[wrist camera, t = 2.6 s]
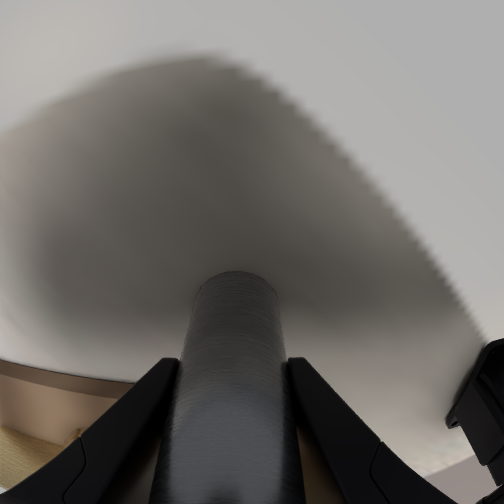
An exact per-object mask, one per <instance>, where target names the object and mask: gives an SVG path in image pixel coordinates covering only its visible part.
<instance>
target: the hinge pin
mask: <svg viewBox="0 0 504 504" xmlns="http://www.w3.org/2000/svg"><path fill="white" fill-rule="evenodd" d="M148 504H307V503H306V495H305V487H304V479H303V472H302V464H301V457H300V449H299V442H298V435H297V427H296V420H295V413H294V407H293V400H292V393H291V386H290V379H289V373H288V366H287V358H286V352H285V345H284V338H283V332H282V325H281V319H280V313H279V306H278V301H277V297H276V294H275V292H274V291H273V289H272V288H271V286H270V285H269V284H268V283H267V282H265V281H264V280H263V279H261V278H260V277H258V276H256V275H253V274H250V273H247V272H241V271H232V272H225V273H221V274H218V275H216V276H214V277H212V278H211V279H209V280H208V281H207V282H206V283H205V284H204V285H203V286H202V287H201V289H200V290H199V292H198V294H197V297H196V301H195V305H194V308H193V312H192V316H191V320H190V323H189V327H188V331H187V335H186V339H185V343H184V347H183V351H182V354H181V358H180V362H179V366H178V371H177V375H176V379H175V383H174V387H173V391H172V395H171V400H170V404H169V408H168V412H167V417H166V421H165V426H164V430H163V435H162V439H161V444H160V448H159V453H158V458H157V462H156V467H155V472H154V477H153V482H152V487H151V492H150V497H149V502H148Z"/></svg>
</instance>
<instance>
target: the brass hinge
mask: <svg viewBox="0 0 504 504" xmlns="http://www.w3.org/2000/svg"><path fill="white" fill-rule="evenodd" d="M85 430H86V428H82V429H79V428H77V429H76V430H75V431H74V432H73V433H72V434H71V435H69V436H68V437H67V438H66V440H65V442H64V444H63V446H61V445H58V444H55V443H51V442H48V441H45V440H42V439H39V438H36V437H33V436H30V435H27V434H25V433H22V432H19V431H17V430H14V429H11V428H9V427H6V426H4V425H1V427H0V487H2V488H4V489H6V490H9V489H11V488H12V487H13V486H15V485H16V484H18V483H19V482H21V481H22V480H24V479H25V478H27V477H28V476H30V475H31V474H32V473H34V472H35V471H37V470H38V469H40V468H41V467H42V466H44V465H45V464H46V463H48V462H49V461H50V460H52V459H53V458H54V457H56V456H57V455H58V454H59V453H60V452H61V451H63V450H64V449H65V448H66V447H67V446H68V445H70V444H71V443H72V442H73V441H74V440H75V439H76V438H77V437H81V436H80V435H81V434H82V433H83V432H84V431H85Z"/></svg>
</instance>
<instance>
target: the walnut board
mask: <svg viewBox="0 0 504 504" xmlns="http://www.w3.org/2000/svg"><path fill="white" fill-rule="evenodd" d="M133 385H134V384H128V383H119V382H111V381H104V380H96V379H90V378H83V377H77V376H71V375H65V374H60V373H55V372H49V371H45V370H40V369H35V368H31V367H26V366H22V365H18V364H14V363H10V362H6V361H2V360H0V427H1V425H4V426H6V427H9V428H11V429H14V430H17V431H19V432H22V433H25V434H27V435H30V436H33V437H36V438H39V439H42V440H45V441H48V442H51V443H55V444H58V445H61V446H63V444H64V442H65V440H66V438H67V437H68V436H69V435H71V434H72V433H73V432H74V431H75V430H76V429H77V428H79V429H82V428H86V429H87V428H88V427H89V426H90V425H91V424H92V423H94V422H95V421H96V420H97V419H98V418H99V417H100V416H101V415H102V414H103V413H104V412H105V411H106V410H108V409H109V408H110V407H111V406H112V405H113V404H114V403H115V402H116V401H117V400H118V399H119V398H120V397H121V396H123V395H124V394H125V393H126V392H127V391H128V390H129V389H130V388H131V387H132V386H133Z"/></svg>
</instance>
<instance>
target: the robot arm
mask: <svg viewBox="0 0 504 504" xmlns="http://www.w3.org/2000/svg"><path fill="white" fill-rule="evenodd" d="M178 366H179V360H178V359H177V358H162V359H161V360H160V361H159V362H158V363H157V364H155V365H154V366H153V367H152V368H151V369H150V370H149V371H148V372H147V373H146V374H145V375H144V376H143V377H142V378H141V379H140V380H139V381H137V382H136V383H135V384H134V385H133V386H132V387H131V388H130V389H129V390H128V391H127V392H126V393H125V394H124V395H123V396H121V397H120V398H119V399H118V400H117V401H116V402H115V403H114V404H113V405H112V406H111V407H110V408H109V409H108V410H106V411H105V412H104V413H103V414H102V415H101V416H100V417H99V418H98V419H97V420H96V421H95V422H94V423H92V424H91V425H90V426H89V427H88V428H87V429H86V430H85V431H84V432H83V433H82V434H81V435H80V436H81V437H77V438H76V439H75V440H74V441H73V442H72V443H71V444H70V445H68V446H67V447H66V448H65V449H64V450H63V451H61V452H60V453H59V454H58V455H57V456H56V457H54V458H53V459H52V460H50V461H49V462H48V463H46V464H45V465H44V466H42V467H41V468H40V469H38V470H37V471H35V472H34V473H32V474H31V475H30V476H28V477H27V478H25V479H24V480H22V481H21V482H19V483H18V484H16V485H15V486H13V487H12V488H11V489H9V490H7V491H6V492H4V493H2V494H0V504H148V502H149V497H150V492H151V487H152V482H153V477H154V472H155V467H156V462H157V458H158V453H159V448H160V444H161V439H162V435H163V430H164V426H165V421H166V417H167V412H168V408H169V404H170V400H171V395H172V391H173V387H174V383H175V379H176V375H177V371H178ZM287 366H288V373H289V379H290V386H291V393H292V400H293V407H294V413H295V420H296V427H297V435H298V442H299V449H300V457H301V464H302V472H303V479H304V487H305V495H306V503H307V504H457V503H456V502H455V501H453V500H452V499H450V498H449V497H448V496H446V495H445V494H444V493H442V492H441V491H440V490H438V489H437V488H436V487H434V486H433V485H431V484H430V483H429V482H427V481H426V480H425V479H424V478H422V477H421V476H420V475H418V474H417V473H416V472H415V471H414V470H412V469H411V468H410V467H409V466H407V465H406V464H405V463H404V462H403V461H402V460H401V459H400V458H399V457H398V456H397V455H396V454H395V453H394V452H393V451H391V449H390V448H389V447H388V446H387V445H386V444H385V443H384V442H383V441H381V442H380V438H379V437H378V436H377V435H376V434H375V433H374V432H373V431H372V430H371V429H370V428H369V427H368V426H367V425H366V424H365V423H364V422H363V420H362V419H361V418H360V417H359V416H358V415H357V414H356V413H355V412H354V411H353V410H352V409H351V408H350V407H349V406H348V405H347V403H346V402H345V401H344V400H343V399H342V398H341V397H340V396H339V395H338V394H337V393H336V392H335V391H334V390H333V388H332V387H331V386H330V385H329V384H328V383H327V382H326V381H325V380H324V379H323V378H322V377H321V375H320V374H319V373H318V372H317V371H316V370H315V369H314V368H313V367H312V366H311V365H310V363H309V362H308V361H307V360H306V359H305V358H303V357H294V358H289V359H288V361H287ZM445 423H446V425H447V427H448V429H451V428H454V427H457V426H460V425H461V427H462V429H463V431H464V433H465V435H466V437H467V439H468V441H469V442H470V444H471V446H472V448H473V450H474V452H475V454H476V456H477V458H478V460H479V462H480V464H481V465H482V466H485V465H487V467H488V469H489V471H490V473H491V475H492V477H493V479H494V481H495V483H496V486H500V485H502V486H500V487H499V488H498V489H496V490H495V491H494V492H492V493H491V494H490V495H488V496H486V497H483V498H482V499H481V500H479V501H478V502H477V503H476V504H504V484H503V483H504V338H502V339H499V340H495V341H492V342H490V343H489V344H488V345H487V346H486V347H485V349H484V350H483V353H482V355H481V357H480V359H479V361H478V363H477V365H476V367H475V369H474V371H473V373H472V375H471V377H470V379H469V381H468V383H467V385H466V387H465V389H464V391H463V393H462V394H461V396H460V398H459V400H458V402H457V403H456V405H455V407H454V408H453V410H452V412H451V414H450V415H449V417H448V418H447V420H446V422H445Z"/></svg>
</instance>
